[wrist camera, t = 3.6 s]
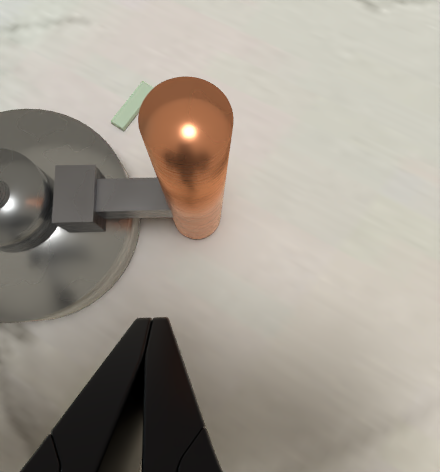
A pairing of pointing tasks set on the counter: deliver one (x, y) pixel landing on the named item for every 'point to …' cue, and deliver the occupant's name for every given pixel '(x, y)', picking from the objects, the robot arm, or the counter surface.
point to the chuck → (40, 220)
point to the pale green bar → (131, 106)
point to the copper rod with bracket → (159, 166)
